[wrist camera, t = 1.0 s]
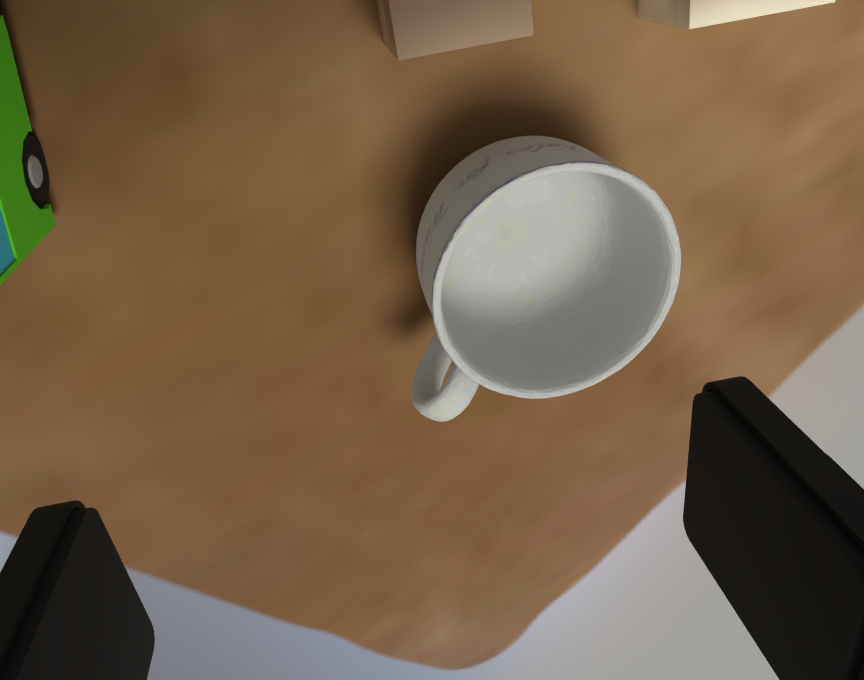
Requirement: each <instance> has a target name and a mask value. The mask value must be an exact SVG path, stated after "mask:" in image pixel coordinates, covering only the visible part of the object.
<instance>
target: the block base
mask: <svg viewBox="0 0 864 680" xmlns="http://www.w3.org/2000/svg"><path fill="white" fill-rule="evenodd" d="M833 2H835V0H638V19H643V20H648V21H653V22H658V23H662V24H667V25H672V26H677V27H681V28H686V29H693V28H698V27H704V26H709V25H714V24H720V23H725V22H730V21H736V20H741V19H747V18H752V17H757V16H763V15H768V14H774V13H779V12H784V11H790V10H795V9H800V8H806V7H811V6H817V5H822V4H827V3H833Z"/></svg>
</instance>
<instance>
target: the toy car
mask: <svg viewBox="0 0 864 680" xmlns="http://www.w3.org/2000/svg"><path fill="white" fill-rule="evenodd" d="M1 3H2V0H0V8H1ZM28 132H32V128H31V124H30V120H29V116H28V112H27V108H26V104H25V100H24V96H23V92H22V88H21V84H20V80H19V76H18V72H17V68H16V64H15V60H14V56H13V52H12V48H11V44H10V40H9V36H8V32H7V28H6V25H5V21H4V18H3V15H0V285H1V284H2V283H3V282H4V281H5V279H6V278H7V277H8V276H9V275H10V274H11V273H12V272H13V271H14V270H15V269H16V267H17V266H18V265H19V264H20V263H21V262H22V261H23V260H24V259H25V258H26V257H27V255H28V254H29V253H30V252H31V251H32V250H33V249H34V248H35V247H36V246H37V245H38V243H39V242H40V241H41V240H42V239H43V238H44V237H45V236H46V235H47V234H48V233H49V231H50V230H51V229H52V228H53V227H54V226H55V221H54V217H53V213H52V209H51V205H50V204H45V202H46V200H47V198H48V191H49V176H48V169H47V165H46V161H45V157H44V154H43V151H42V148H41V145H40V144H39V143H38V142H37V140H36V139H35V138H34V136H32V135H27V134H28Z"/></svg>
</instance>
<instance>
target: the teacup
mask: <svg viewBox="0 0 864 680" xmlns="http://www.w3.org/2000/svg"><path fill="white" fill-rule="evenodd" d="M416 261H417V269H418V275H419V279H420V283H421V287H422V290H423V293H424V296H425V299H426V301H427V304H428V306H429V309H430V311H431V314H432V318H433V322H434V327H435V330H436V332H435V334H434V335H433V337H432V339H431V341H430V343H429V345H428V347H427V349H426V351H425V353H424V355H423V357H422V359H421V361H420V363H419V365H418V368H417V370H416V373H415V376H414V379H413V383H412V389H411V396H412V401H413V404H414V406H415V408H416V409H417V410H418V411H419V412H420V413H421V414H422V415H424V416H426V417H428V418H430V419H432V420H435V421H440V422H441V421H448V420H451V419H453V418H454V417H456V416H457V415H459V414H460V413H461V412H462V411H463V410H464V409H465V408H466V407H467V406H468V404H469V403H470V401H471V399H472V398H473V396H474V394H475V392H476V390H477V388H478V386H479V384H480V385H482V386H484V387H486V388H488V389H491V390H493V391H497V392H499V393H502V394H507V395H512V396H517V397H522V398H549V397H556V396H562V395H566V394H570V393H573V392H576V391H579V390H582V389H585V388H587V387H589V386H592V385H594V384H596V383H598V382H600V381H602V380H604V379H605V378H607V377H608V376H610V375H611V374H613V373H615V372H617V371H618V370H620V369H621V368H623V367H624V366H625V365H626V364H628V363H629V362H630V361H631V360H632V359H633V358H634V357H635V356H636V355H637V354H638V353H639V352H640V351H641V350H642V349H643V348H644V347H645V346H646V345H647V344H648V343H649V342H650V340H651V339H652V338H653V336H654V335H655V334H656V332H657V331H658V329H659V328H660V326H661V325H662V323H663V321H664V319H665V317H666V316H667V314H668V311H669V309H670V307H671V305H672V303H673V300H674V297H675V293H676V291H677V288H678V283H679V277H680V268H681V250H680V243H679V237H678V232H677V229H676V227H675V224H674V222H673V219H672V216H671V214H670V212H669V211H668V209H667V207H666V205H665V204H664V202H663V201H662V199H661V198H660V197H659V195H658V194H657V193H656V192H655V191H654V190H653V189H652V188H651V187H650V186H649V185H647V184H646V183H645V182H644V181H642V180H641V179H640V178H638V177H637V176H636V175H634V174H632V173H631V172H628V171H626V170H624V169H622V168H619V167H617V166H614V165H613V164H611V163H610V162H608V161H607V160H605V159H603V158H602V157H600V156H598V155H597V154H595V153H593V152H591V151H589V150H588V149H586V148H583V147H581V146H579V145H577V144H574V143H572V142H569V141H565V140H562V139H558V138H554V137H546V136H519V137H514V138H509V139H504V140H500V141H497V142H495V143H492V144H489V145H487V146H485V147H483V148H481V149H479V150H477V151H475V152H474V153H472V154H470V155H469V156H467V157H466V158H465V159H463V160H462V161H461V162H459V163H458V164H457V165H456V166H455V167H454V168H452V169H451V171H450V172H449V173H448V174H447V175H446V176H445V177H444V178H443V179H442V180H441V182H440V183H439V184H438V186H437V187H436V189H435V190H434V192H433V194H432V195H431V197H430V199H429V201H428V202H427V204H426V207H425V209H424V212H423V214H422V217H421V221H420V224H419V228H418V234H417V243H416ZM451 361H453V364H452V368H451V371H450V373H449V376H448V378H447V380H446V382H445V383H444V385H443V387H442V388H441V385H442V382H443V379H444V376H445V374H446V372H447V369H448V367H449V365H450V363H451Z"/></svg>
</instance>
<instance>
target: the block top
mask: <svg viewBox="0 0 864 680" xmlns="http://www.w3.org/2000/svg"><path fill="white" fill-rule="evenodd" d="M376 5H377V10H378V16H379V22H380V28H381V33H382V39H383V42H384V43H385V45H386V46H387V47H388V48H389V50H390V51H391V52H392V53H393V54H394V56H395V57H396V58H397V59H398V61H399V60H404V59H410V58H415V57H420V56H426V55H431V54H436V53H442V52H447V51H452V50H458V49H463V48H468V47H474V46H479V45H484V44H489V43H495V42H500V41H505V40H511V39H516V38H521V37H527V36H532V35H534V33H533V19H532V5H531V0H376Z"/></svg>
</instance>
